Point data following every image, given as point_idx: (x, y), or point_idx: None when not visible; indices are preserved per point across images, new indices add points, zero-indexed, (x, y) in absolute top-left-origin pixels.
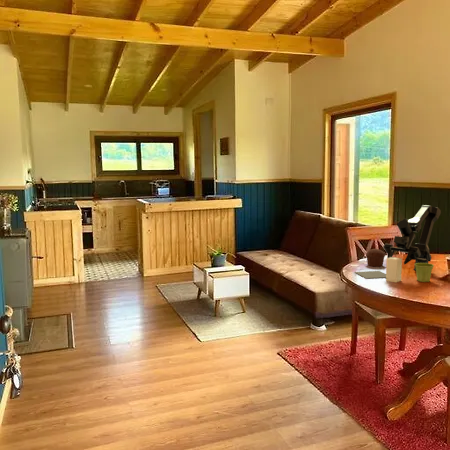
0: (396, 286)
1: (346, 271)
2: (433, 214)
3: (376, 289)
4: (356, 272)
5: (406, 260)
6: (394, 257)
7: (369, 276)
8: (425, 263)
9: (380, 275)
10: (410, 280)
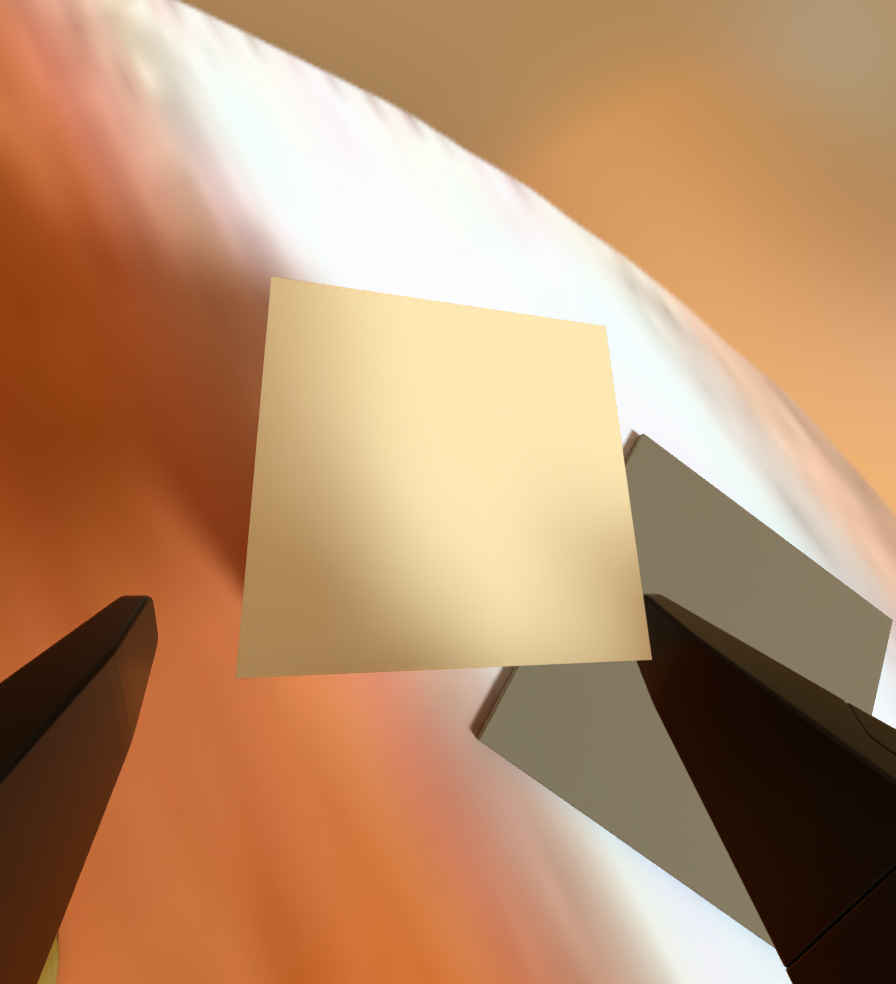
0: (200, 317)
1: None
2: None
3: (321, 113)
4: (865, 613)
5: (15, 677)
6: (537, 623)
7: (667, 531)
8: None
9: (626, 689)
10: (164, 796)
